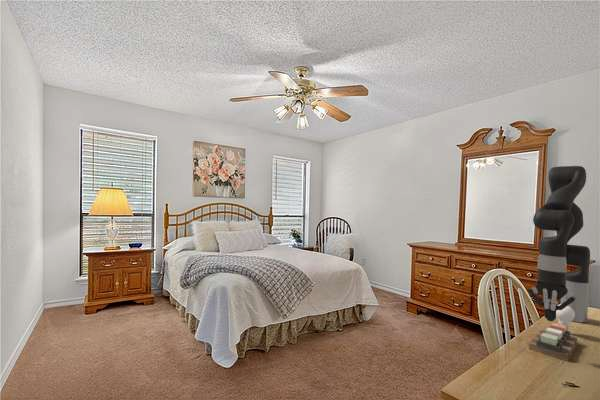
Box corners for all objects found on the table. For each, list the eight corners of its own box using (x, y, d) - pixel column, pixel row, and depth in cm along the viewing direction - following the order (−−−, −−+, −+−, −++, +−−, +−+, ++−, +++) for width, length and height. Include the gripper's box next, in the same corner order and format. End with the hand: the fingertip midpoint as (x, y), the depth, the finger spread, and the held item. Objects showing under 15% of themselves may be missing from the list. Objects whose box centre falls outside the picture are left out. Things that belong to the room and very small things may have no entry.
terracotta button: (552, 327, 116) (552, 322, 116) (566, 331, 113) (566, 325, 113) (550, 330, 113) (550, 324, 113) (564, 334, 110) (564, 328, 110)
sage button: (543, 338, 105) (543, 332, 105) (558, 342, 102) (558, 336, 102) (540, 341, 102) (540, 335, 102) (555, 346, 99) (556, 339, 99)
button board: (542, 333, 118) (543, 324, 118) (577, 343, 111) (577, 333, 111) (528, 349, 104) (529, 339, 104) (567, 361, 96) (567, 350, 96)
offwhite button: (548, 332, 110) (548, 327, 110) (562, 336, 107) (562, 331, 107) (545, 335, 108) (545, 329, 108) (560, 339, 105) (560, 333, 105)
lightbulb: (575, 337, 116) (576, 308, 116) (553, 332, 120) (554, 304, 120) (573, 332, 121) (574, 304, 121) (552, 327, 125) (553, 301, 125)
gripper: (579, 271, 100) (578, 324, 100) (530, 264, 110) (528, 312, 110) (576, 273, 95) (574, 329, 95) (525, 266, 105) (523, 316, 105)
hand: (550, 320), depth 102 cm, fingers closed
